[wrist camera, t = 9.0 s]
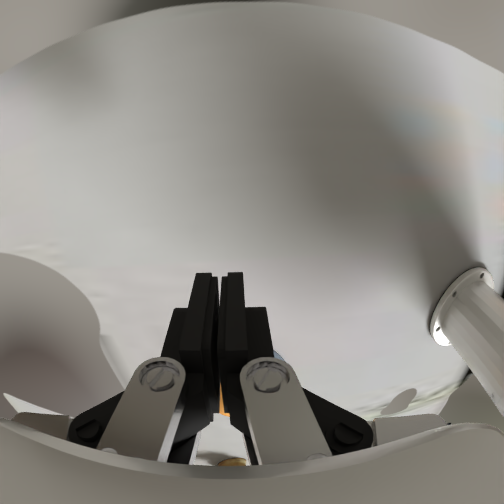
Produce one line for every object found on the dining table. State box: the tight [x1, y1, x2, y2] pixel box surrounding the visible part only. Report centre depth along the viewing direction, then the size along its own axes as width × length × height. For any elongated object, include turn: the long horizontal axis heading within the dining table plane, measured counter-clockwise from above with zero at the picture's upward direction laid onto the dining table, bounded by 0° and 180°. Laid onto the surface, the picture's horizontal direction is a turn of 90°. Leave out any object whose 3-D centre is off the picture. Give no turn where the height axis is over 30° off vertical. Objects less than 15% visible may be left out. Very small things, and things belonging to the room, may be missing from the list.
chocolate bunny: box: [218, 458, 246, 466], centre depth 39 cm, size 6×8×10 cm
